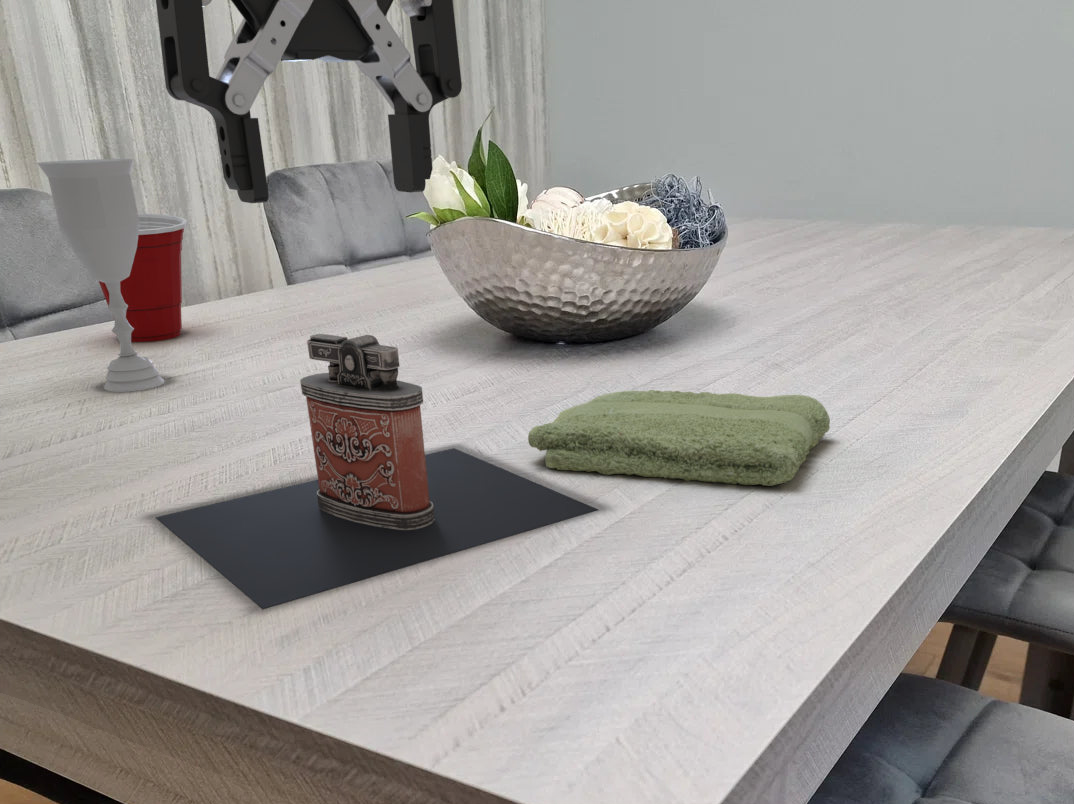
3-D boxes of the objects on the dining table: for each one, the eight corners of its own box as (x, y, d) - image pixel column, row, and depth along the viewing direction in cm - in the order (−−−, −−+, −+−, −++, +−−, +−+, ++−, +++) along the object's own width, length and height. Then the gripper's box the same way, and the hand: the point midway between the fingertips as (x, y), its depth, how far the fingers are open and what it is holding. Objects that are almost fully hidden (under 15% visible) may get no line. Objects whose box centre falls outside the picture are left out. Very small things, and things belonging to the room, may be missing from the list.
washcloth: (595, 418, 78) (594, 375, 76) (833, 438, 72) (836, 392, 70) (519, 471, 67) (517, 422, 66) (792, 500, 61) (795, 447, 59)
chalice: (133, 374, 94) (87, 159, 87) (195, 378, 92) (153, 158, 84) (71, 394, 88) (16, 163, 80) (136, 399, 86) (85, 163, 78)
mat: (263, 612, 49) (262, 608, 49) (155, 520, 60) (155, 517, 60) (598, 512, 60) (598, 509, 60) (454, 450, 71) (454, 447, 71)
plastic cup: (126, 353, 103) (98, 225, 97) (80, 340, 109) (51, 219, 104) (226, 336, 110) (206, 215, 105) (177, 324, 116) (155, 210, 111)
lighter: (448, 516, 59) (432, 338, 55) (406, 535, 57) (386, 350, 52) (347, 492, 63) (325, 324, 59) (304, 508, 61) (278, 335, 56)
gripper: (395, -161, 52) (422, 186, 59) (96, -205, 44) (168, 201, 51) (474, -192, 47) (494, 193, 54) (151, -248, 39) (223, 211, 46)
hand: (335, 196), depth 53 cm, fingers open, 8 cm apart
